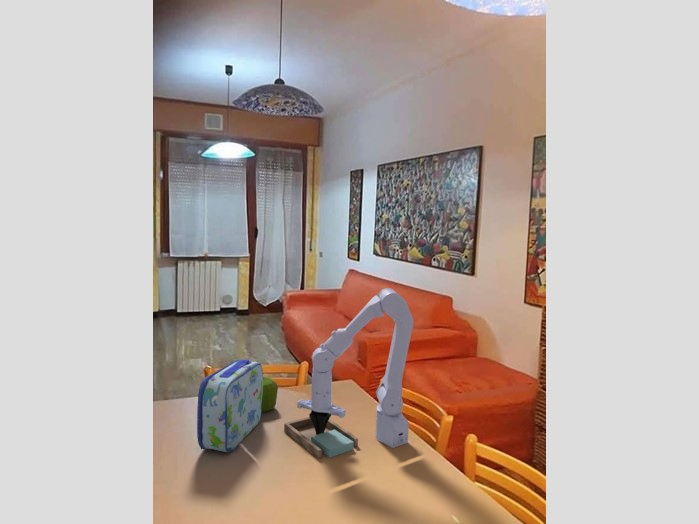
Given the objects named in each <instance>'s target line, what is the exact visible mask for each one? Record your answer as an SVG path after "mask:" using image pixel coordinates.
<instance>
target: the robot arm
mask: <svg viewBox="0 0 699 524" xmlns="http://www.w3.org/2000/svg"><path fill="white" fill-rule="evenodd" d="M410 310H411V309H410V308H409V305H408V302H407V301H406V300H405V299H404V298H403V296H402V295H400V294H399V293H397V292H396V290H395V289H393V288H390V287H387V288H386V287H385V288H383V289H381V290H380V291H379V292H378V294H377V295H374V296H373V297H372V298H371V299H370V300H369V301H368V302H367V303H366V304H365V306H364V307H363V308H362V309H361V310H360V311H359V312H358V313H357V315H355V316H354V318H353V319H352V320H351V321H350V322H349V323H348V325H346V327H345V328H337V330H333V331H332V332H331V333H330V334H331V335H330V337H329V338H328V339H327V340H326V341H325V342H324V343H320V345H319V347H317V348H316V349H315V350H314V351H313V352H312V355H311V360H312V374H311V397H310V398H311V400H309V399H302V398H301V399H299V400H298V401H297V409H305V410H310V413H309V414H308V417H310V419H311V420H312V422H313V425H314V428H315V431H316V435H318V434H321V433H324V431H325V428H326V425H327V422H328V420H329V419H331V417H332V416H335V417H338V418H340V419H343V418H344V417H346V408H342V407H339V406H337V405H335V404H334V403H332V392H333V391H332V388H333V387H332V385H333V375H332V369H333V367H334V364H335V360H338V359H339V358H340V357H341V355H343V354H344V353H345V352H346V351H347V350H348V348H350V347H351V345H353V343H354V342H353V341H354V336H355V335H356V334H357V333H359V332H360V331H361V330H362V329H363V328H364V327H366V325H367V324H368V323H370V321H371V320H373V319H375V318H384V317H385V314H386V315H388V316H389V317H390V318H391V320H393V322H394V327H393V328H394V329H393V333H392V337H391V343H390V347H389V348H390V349H389V352H388V353H389V354H388V358H387V364H386V369H385V374H384V375H383V377H382V379H381V383H380V385H379V386H378V388H377V389H376V393H375V394H376V397H377V400H378V404H377V406H376V413H375V414H376V415H375V431H374V432H375V433H374V434H375V436H374V438H375V440H376V441H378V442H380V443H383V444H385V445H386V446H388V447H389V448H391V449H394V448H397V447H400V446H402V445H406V444H409V445H410V444H411V442H410V441H409V427H410V425H409V420H408V419H407V418H406V417H405V416H404V415H403V412H402V410H403V407H404V402H403V398H402V396H403V383H402V382H403V376H404V371H405V367H406V362H407V356H408V351H409V347H410V341H411V337H412V332H413V327H414V317H413V315H412V314H411V313H412V312H411V311H410ZM384 313H385V314H384Z"/></svg>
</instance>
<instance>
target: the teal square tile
mask: <svg viewBox="0 0 699 524" xmlns="http://www.w3.org/2000/svg"><path fill="white" fill-rule="evenodd" d="M311 442H313V443H314V444H315V445H316V446H318V447H319V448H320V449H322V453H324V454H325V455H327V456H326V457H327V458H329V459H330V458H333V457H337V456H338V455H342V454H344V453H348V452H350V451H353V450H354V449H355V447H354V442H353V441H352V440H350V439H349V438H347V437H345V436H344V435H342V434H341V433H339V432H338V431H336V430H331V431H328V432H325V433H321V434H318V435H315V436H312V437H311Z"/></svg>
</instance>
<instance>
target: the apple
mask: <svg viewBox="0 0 699 524" xmlns="http://www.w3.org/2000/svg"><path fill="white" fill-rule="evenodd" d="M278 390H279V388H278V382H276V381H275V380H273V379H272V378H270V377H268V376H263V395H262V409H261V413H266V412H268V411H270V410H272V409H274V408H275V407H276V404H277V397H278Z"/></svg>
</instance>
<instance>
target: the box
mask: <svg viewBox="0 0 699 524" xmlns="http://www.w3.org/2000/svg"><path fill="white" fill-rule="evenodd" d="M283 425H284V427H283V428H284V429H283V431H284V432H285V433H287V434H288V436H290V437H291V438H292V439H294V440H295V441H296V442H297V443H298V444H299V445H300V446H302V447H303V448H304V449H305V450H307V451H308V452H309V453H311V455H313V456H314V457H315V458H316V459H318V460H320V459H321V458H325V457H328V456H327V455H325V454H324V453H322V449H320V448H319V447H318V446H316V445H315V444H314V443H313V442H311V437H312V436H315V435H316V431H315V428H314V425H313V422H312V420H311V419H310V417H309V416H308V417H304V418H301V419H296V420H292V421H290V422H284V424H283ZM331 430H336V431H338V432H339V433H341V434H342V435H344V436H345V437H347V438H349V439H350V440H352V441H353V442H354V448H357V447H358V445H359V438H358V437H357V436H355V435H354V434H352V433H351V432H349V431H347V430H346V429H345V428H343V427H342V426H341V425H339V424H337V423H336V422H334V420H332V419H331V418H329V420H328V422H327V425H326V428H325V431H324V433H325V432H328V431H331Z"/></svg>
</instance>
